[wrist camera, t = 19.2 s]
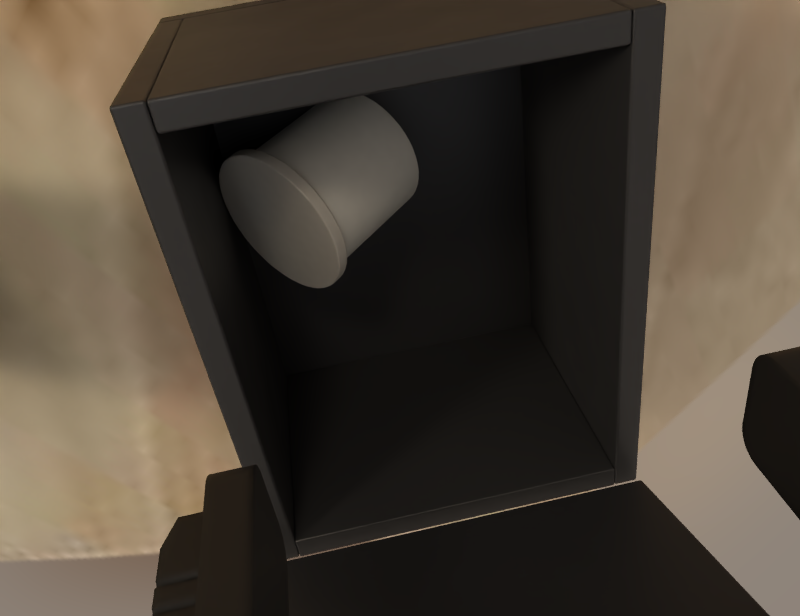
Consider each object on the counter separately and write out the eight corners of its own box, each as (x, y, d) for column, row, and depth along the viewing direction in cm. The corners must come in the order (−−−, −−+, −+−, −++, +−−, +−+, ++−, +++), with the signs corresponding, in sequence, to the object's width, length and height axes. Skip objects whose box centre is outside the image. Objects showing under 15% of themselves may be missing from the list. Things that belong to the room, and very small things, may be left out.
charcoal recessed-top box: (160, 17, 24) (107, 107, 15) (530, -49, 24) (667, 2, 16) (272, 381, 32) (276, 562, 24) (543, 324, 33) (636, 479, 25)
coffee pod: (290, 87, 25) (194, 156, 23) (391, 75, 21) (289, 154, 19) (348, 208, 28) (267, 279, 25) (446, 214, 24) (363, 297, 22)
